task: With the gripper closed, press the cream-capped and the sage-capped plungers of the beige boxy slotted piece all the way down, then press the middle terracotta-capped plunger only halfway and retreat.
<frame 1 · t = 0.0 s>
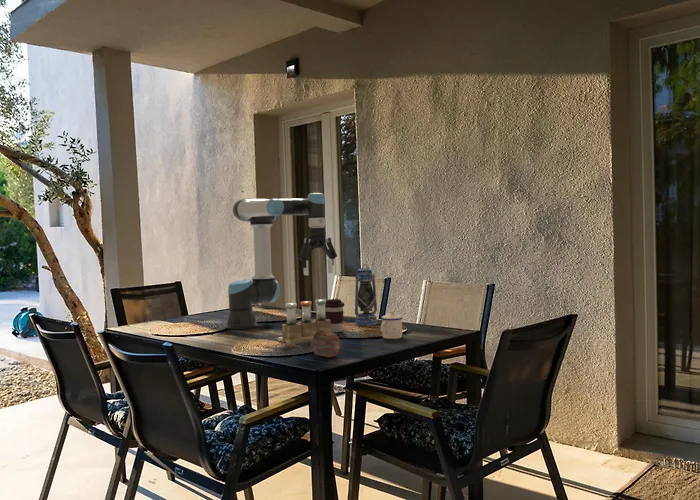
hand: (318, 274, 274), 28 cm above the table, fingers open, 13 cm apart
coffee cup: (334, 331, 285), on the table
sage plunger: (320, 311, 272), point 11 cm above the table, slide at 0.0 cm
lantern: (366, 323, 305), on the table
terracotta plunger: (306, 313, 267), point 11 cm above the table, slide at 0.0 cm
stone: (329, 356, 231), on the table
beige boxy slotted piece: (307, 338, 267), on the table
teacup with lid: (390, 338, 265), on the table
cream plunger: (291, 315, 262), point 11 cm above the table, slide at 0.0 cm
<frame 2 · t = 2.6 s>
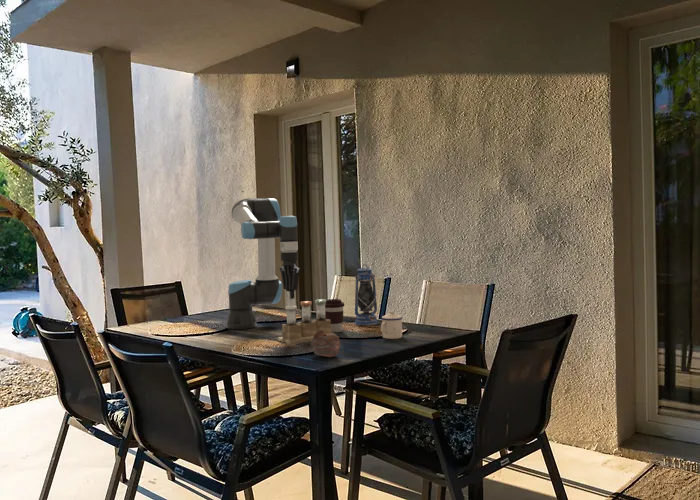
hand: (291, 305, 262), 16 cm above the table, fingers closed
cream plunger: (291, 318, 262), point 10 cm above the table, slide at -1.2 cm, touching gripper
everything else where it was.
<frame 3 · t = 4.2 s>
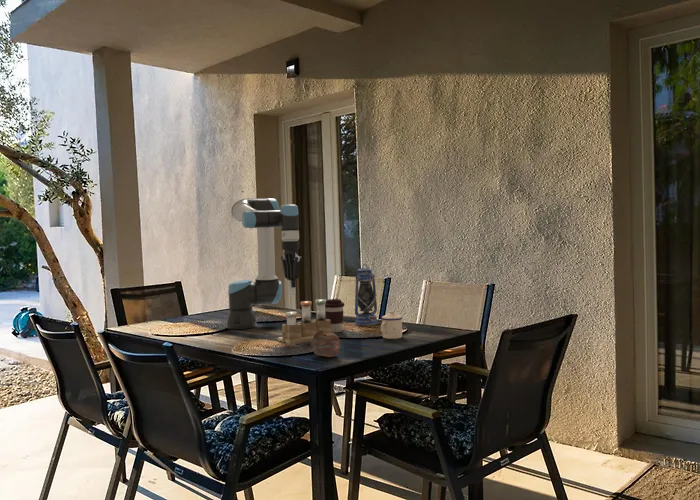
hand: (292, 294, 262), 20 cm above the table, fingers closed
cream plunger: (291, 324, 262), point 8 cm above the table, slide at -3.8 cm
everything else where it was.
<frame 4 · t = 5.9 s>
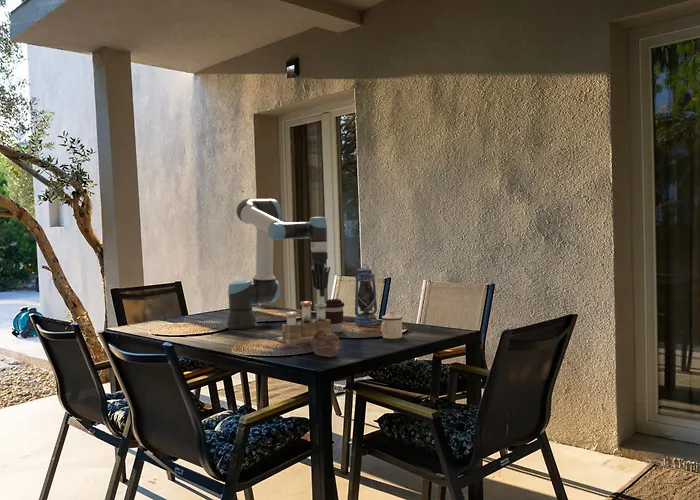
hand: (320, 303, 272), 15 cm above the table, fingers closed
sage plunger: (321, 315, 272), point 10 cm above the table, slide at -1.9 cm, touching gripper
everything else where it was.
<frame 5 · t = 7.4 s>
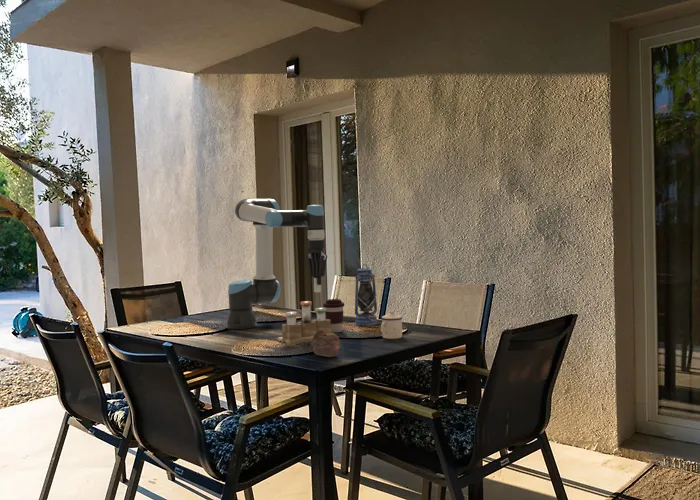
hand: (317, 292, 271), 20 cm above the table, fingers closed
sage plunger: (321, 319, 272), point 8 cm above the table, slide at -3.8 cm
everything else where it was.
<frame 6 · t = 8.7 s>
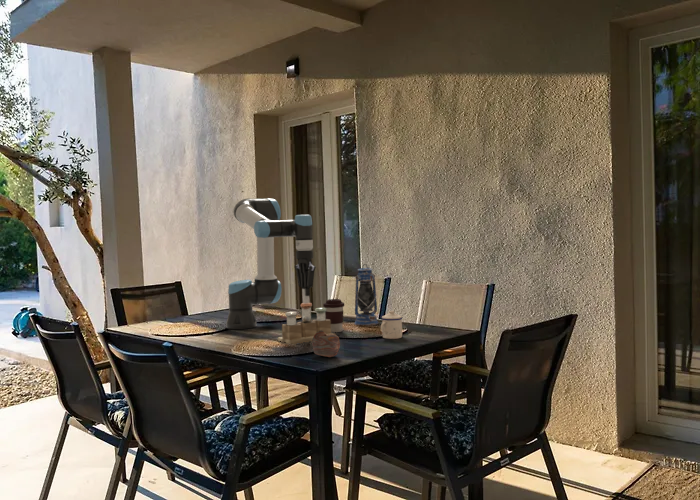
hand: (306, 303, 267), 16 cm above the table, fingers closed
terracotta plunger: (306, 315, 267), point 11 cm above the table, slide at -0.8 cm, touching gripper
everything else where it was.
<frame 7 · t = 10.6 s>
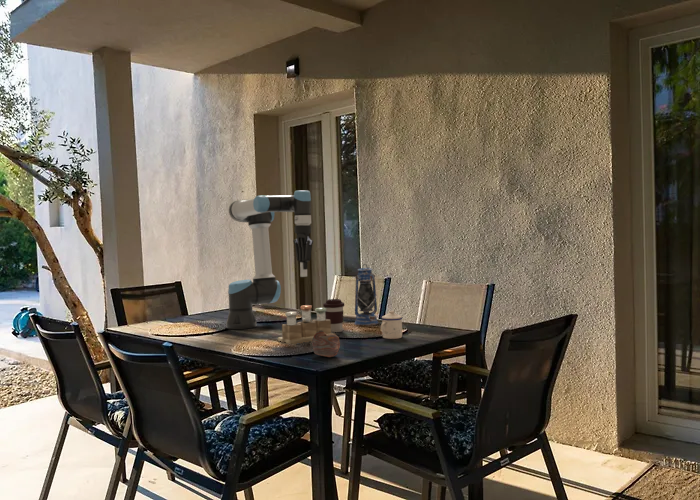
hand: (303, 276, 275), 27 cm above the table, fingers closed
terracotta plunger: (306, 317, 267), point 10 cm above the table, slide at -1.8 cm
everything else where it was.
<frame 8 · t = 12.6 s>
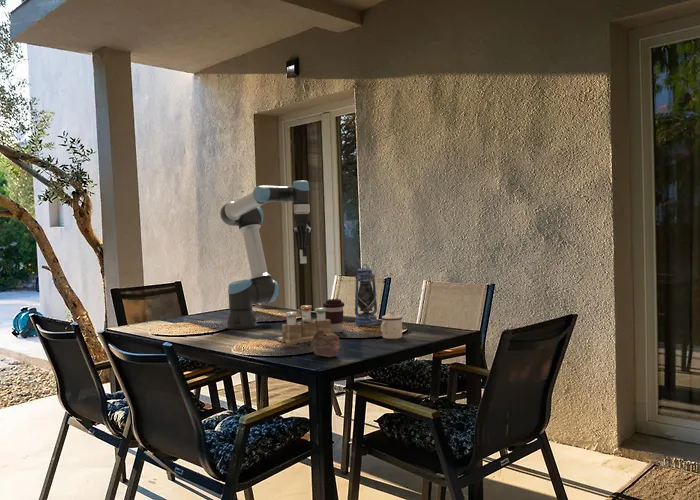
hand: (303, 263, 286), 32 cm above the table, fingers closed
nothing on the table moved.
at the end: cream plunger slide at -3.8 cm; sage plunger slide at -3.8 cm; terracotta plunger slide at -1.8 cm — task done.
